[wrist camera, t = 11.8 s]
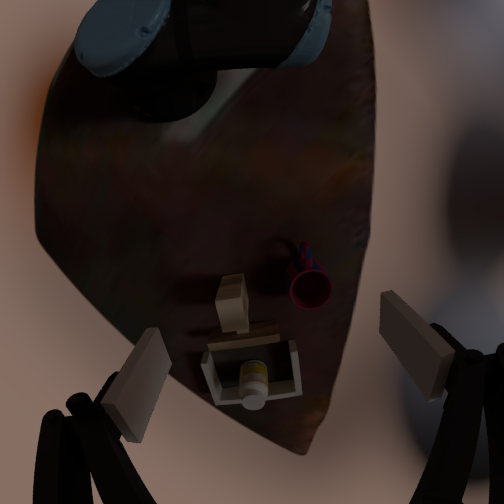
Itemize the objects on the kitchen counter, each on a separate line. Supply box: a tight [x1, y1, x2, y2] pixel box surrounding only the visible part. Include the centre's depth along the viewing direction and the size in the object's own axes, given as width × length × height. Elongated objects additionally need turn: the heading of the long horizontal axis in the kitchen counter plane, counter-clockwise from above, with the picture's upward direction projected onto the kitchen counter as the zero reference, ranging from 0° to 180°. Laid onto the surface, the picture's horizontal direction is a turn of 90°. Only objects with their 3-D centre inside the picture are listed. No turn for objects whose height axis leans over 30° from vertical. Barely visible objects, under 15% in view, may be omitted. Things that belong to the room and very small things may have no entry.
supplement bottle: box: [239, 360, 268, 410], centre depth 47 cm, size 5×5×10 cm
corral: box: [201, 339, 302, 405], centre depth 49 cm, size 11×17×4 cm, turn 100°
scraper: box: [208, 273, 280, 351], centre depth 43 cm, size 11×12×10 cm
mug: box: [284, 242, 333, 311], centre depth 43 cm, size 7×10×7 cm
